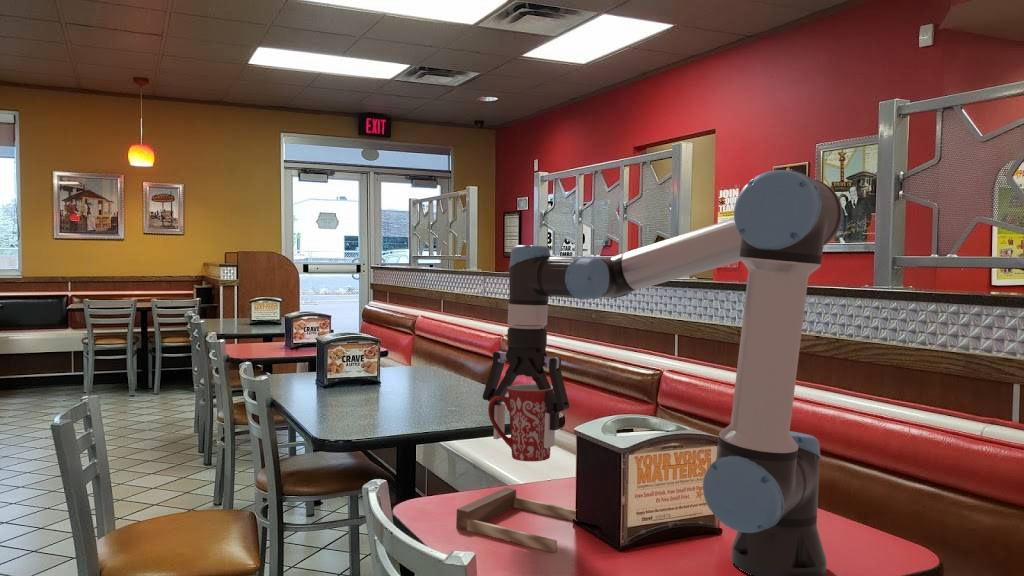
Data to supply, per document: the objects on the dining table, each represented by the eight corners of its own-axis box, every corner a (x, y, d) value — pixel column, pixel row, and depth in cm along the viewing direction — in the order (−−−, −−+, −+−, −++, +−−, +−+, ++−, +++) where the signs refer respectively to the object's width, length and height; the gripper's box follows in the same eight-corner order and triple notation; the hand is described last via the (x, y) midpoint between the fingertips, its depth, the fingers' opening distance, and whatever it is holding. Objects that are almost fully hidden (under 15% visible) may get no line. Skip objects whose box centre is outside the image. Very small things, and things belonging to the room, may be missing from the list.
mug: (555, 452, 146) (554, 383, 146) (554, 463, 137) (553, 389, 137) (491, 452, 147) (490, 383, 147) (486, 463, 138) (485, 390, 138)
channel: (597, 525, 143) (598, 507, 143) (554, 553, 129) (555, 533, 128) (505, 503, 154) (505, 487, 154) (456, 527, 140) (456, 509, 139)
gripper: (590, 329, 138) (586, 447, 139) (487, 321, 150) (484, 430, 151) (572, 332, 132) (568, 455, 133) (466, 323, 144) (462, 436, 145)
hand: (523, 442), depth 142 cm, fingers closed on mug, 10 cm apart
